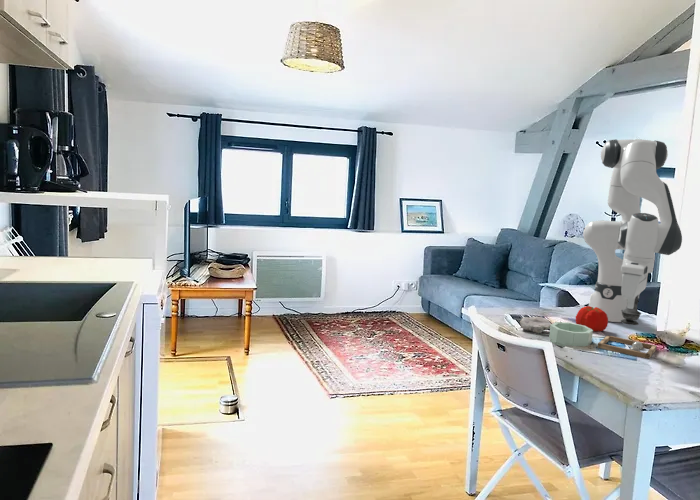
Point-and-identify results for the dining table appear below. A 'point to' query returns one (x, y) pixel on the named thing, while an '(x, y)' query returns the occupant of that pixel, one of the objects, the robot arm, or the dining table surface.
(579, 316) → the tomato
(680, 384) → the dining table surface
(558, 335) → the bowl
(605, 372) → the dining table surface
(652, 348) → the oak tray
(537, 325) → the fossil
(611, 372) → the dining table surface
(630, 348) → the pebble
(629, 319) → the chess piece
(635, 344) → the pebble
